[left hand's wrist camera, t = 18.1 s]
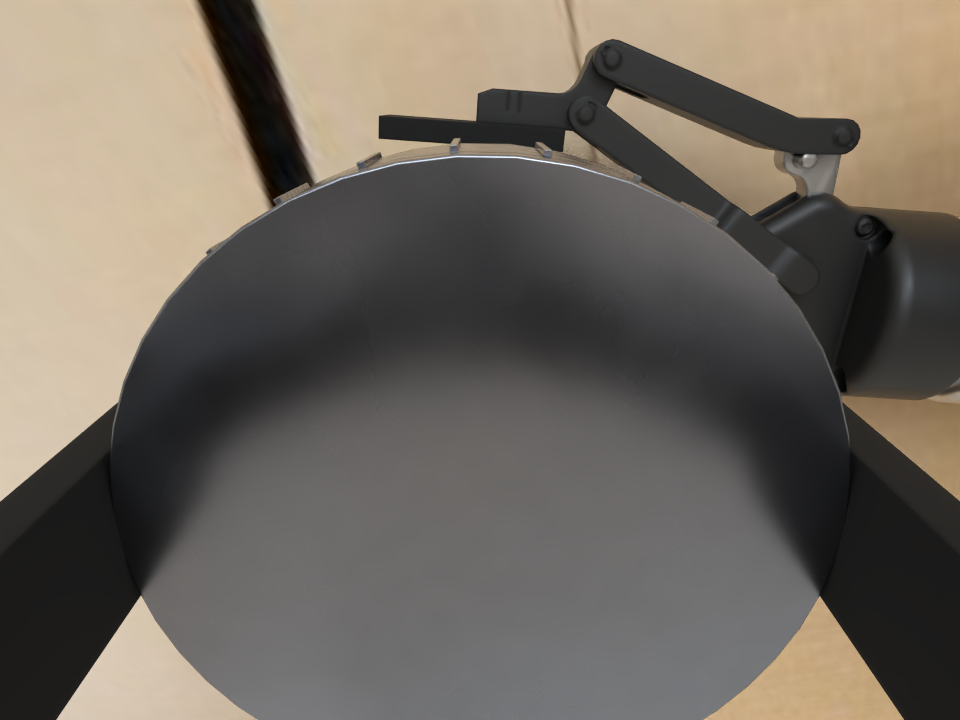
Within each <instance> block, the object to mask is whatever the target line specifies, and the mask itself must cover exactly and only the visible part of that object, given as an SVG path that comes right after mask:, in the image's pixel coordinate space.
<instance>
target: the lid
mask: <svg viewBox="0 0 960 720" xmlns="http://www.w3.org/2000/svg"><path fill="white" fill-rule="evenodd" d="M641 179H642V177H641V176H639V175H637V174H635V173H633V172H631V171H629V170H627V169H625V168H623V167H621V166H619V165H616V164H613V166H612V168H608V167H606V166H604V165H601V164H598V163H594V162H591V161H588V160H584V159H581V158H578V157H574V156H571V155H568V154H564V153H561V152H558V151H552V150H551V149H550V148H548V147H547V146H546V145H544V144H543V143H540V142H536V144H535V148H532V147H525V146H519V145H512V144H469V143H461V138H454V139H453V141H452V142H451V144H450V145H444V146H436V147H428V148H420V149H412V150H408V151H405V152H401V153H397V154H394V155H390V156H386V157H382V156H381V153H380V152H378V153H374V154H372V155H371V156H369V157H367V158H365V159H363V160H361V161H359V162H357V166H355V167H353V168H351V169H348V170H346V171H344V172H341V173H339V174H336V175H334V176H332V177H329V178H327V179H325V180H323V181H321V182H319V183H317V184H315V185H313V186H311V187H310V186H309V185H308V183H305V184H303V185H301V186H299V187H297V188H295V189H293V190H291V191H289V192H287V193H285V194H283V195H281V196H279V197H277V198H276V199H274V202H275V204H276V205H277V206H275V207H274V208H272V209H270V210H269V211H267V212H265V213H264V214H262V215H260V216H259V217H257V218H255V219H254V220H252V221H250V222H249V223H247V224H246V225H244V226H242V227H241V228H240V229H238V230H237V231H236V232H235V233H234V234H232V235H231V236H230V237H229V238H227V239H226V240H224V241H222V242H220V243H218V244H217V245H215V246H213V247H211V248H210V249H209V250H208V251H207V252H206V254H207V256H206V257H205V258H204V259H202V260H201V261H200V262H199V263H198V265H197V266H196V267H195V268H194V269H193V270H192V271H191V272H190V274H189V275H188V276H187V277H186V278H185V279H184V280H183V282H182V283H181V284H180V285H179V286H178V287H177V288H176V289H175V291H174V292H173V293H172V294H171V295H170V296H169V297H168V299H167V300H166V302H165V303H164V305H163V306H162V308H161V310H160V311H159V313H158V314H157V316H156V317H155V319H154V321H153V322H152V324H151V325H150V327H149V328H148V330H147V332H146V333H145V335H144V336H143V338H142V340H141V342H140V344H139V347H138V349H137V351H136V354H135V356H134V358H133V361H132V363H131V365H130V368H129V370H128V372H127V375H126V377H125V379H124V382H123V386H122V390H121V394H120V398H119V402H118V406H117V410H116V414H115V418H114V422H113V428H112V440H111V452H110V464H109V472H110V485H111V498H112V506H113V511H114V515H115V519H116V523H117V527H118V532H119V536H120V540H121V544H122V548H123V552H124V555H125V558H126V562H127V564H128V567H129V569H130V572H131V574H132V577H133V579H134V582H135V585H136V587H137V589H138V590H139V592H140V594H141V596H142V597H143V599H144V601H145V603H146V605H147V606H148V608H149V610H150V612H151V613H152V615H153V617H154V619H155V621H156V622H157V623H158V625H159V626H160V627H161V629H162V630H163V631H164V633H165V634H166V635H167V637H168V638H169V639H170V641H171V642H172V643H173V645H174V646H175V647H176V649H177V650H178V651H179V653H180V654H181V655H182V656H183V657H184V658H185V659H186V660H187V661H188V662H189V663H190V664H191V665H192V666H193V667H194V668H195V669H196V670H197V671H198V672H199V673H200V675H201V676H202V677H203V678H204V679H205V680H206V681H207V682H209V683H210V684H211V685H212V686H213V687H215V688H216V689H217V690H218V691H220V692H221V693H222V694H223V695H224V696H226V697H227V698H228V699H229V700H230V701H232V702H233V703H234V704H235V705H236V706H238V707H239V708H241V709H242V710H244V711H246V712H247V713H249V714H250V715H252V716H253V717H255V718H256V719H258V720H703V719H705V718H706V717H708V716H709V715H711V714H713V713H714V712H716V711H717V710H719V709H720V708H721V707H722V706H724V705H725V704H726V703H727V702H729V701H730V700H731V699H733V698H734V697H735V696H736V695H738V694H739V693H740V692H741V691H743V690H744V689H745V688H747V687H748V686H749V685H750V684H751V683H752V682H753V681H754V680H755V679H756V678H757V677H758V676H759V675H760V674H761V673H762V672H763V671H764V670H765V669H766V668H767V667H768V666H769V665H770V664H771V663H772V662H773V661H774V660H775V659H776V658H777V657H778V655H779V654H780V653H781V652H782V650H783V649H784V648H785V646H786V645H787V644H788V643H789V641H790V640H791V639H792V638H793V636H794V635H795V634H796V633H797V631H798V630H799V629H800V627H801V626H802V624H803V622H804V621H805V619H806V617H807V616H808V614H809V612H810V611H811V609H812V607H813V606H814V604H815V602H816V601H817V599H818V597H819V596H820V594H821V592H822V589H823V587H824V585H825V582H826V580H827V578H828V575H829V573H830V571H831V568H832V566H833V564H834V561H835V558H836V554H837V550H838V546H839V542H840V538H841V535H842V531H843V527H844V523H845V519H846V514H847V509H848V501H849V492H850V482H851V466H850V445H849V432H848V428H847V423H846V418H845V413H844V409H843V404H842V399H841V394H840V390H839V388H838V385H837V383H836V380H835V377H834V375H833V372H832V370H831V367H830V365H829V362H828V359H827V357H826V354H825V352H824V349H823V347H822V345H821V344H820V342H819V340H818V339H817V337H816V335H815V334H814V332H813V330H812V328H811V327H810V325H809V323H808V322H807V320H806V318H805V317H804V315H803V313H802V311H801V310H800V308H799V307H798V305H797V304H796V303H795V302H794V301H793V299H792V298H791V297H790V296H789V294H788V293H787V292H786V291H785V290H784V288H783V287H782V286H781V285H780V284H779V282H778V278H777V277H776V276H775V275H774V274H772V273H771V272H770V271H769V270H768V269H767V268H766V267H765V266H764V265H763V264H761V263H760V262H759V261H758V260H757V259H756V258H755V257H754V256H752V255H751V254H750V253H749V252H748V251H747V250H746V249H745V248H743V247H742V246H741V245H740V244H739V243H738V242H737V241H736V240H734V239H733V238H732V237H731V236H730V235H729V234H727V233H726V232H724V231H723V230H721V229H720V228H718V227H717V226H716V225H717V224H718V223H719V221H718V220H716V219H715V218H713V217H712V216H710V215H708V214H706V213H704V212H702V211H700V210H698V209H696V208H694V207H692V206H690V205H688V204H686V203H684V202H681V203H679V202H677V201H675V200H674V199H672V198H670V197H668V196H666V195H664V194H662V193H660V192H658V191H657V190H655V189H653V188H651V187H649V186H647V185H645V184H643V183H641V182H640V181H641Z"/></svg>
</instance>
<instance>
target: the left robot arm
mask: <svg viewBox="0 0 960 720" xmlns="http://www.w3.org/2000/svg"><path fill="white" fill-rule="evenodd" d="M842 404H843V409H844V413H845V418H846V423H847V428H848V432H849V445H850V466H851V482H850V492H849V501H848V509H847V514H846V519H845V523H844V527H843V531H842V535H841V538H840V542H839V546H838V550H837V554H836V558H835V561H834V564H833V566H832V568H831V571H830V573H829V575H828V578H827V580H826V582H825V585H824V587H823V589H822V592H821V594H820V597H821V598H822V600H823V601H824V602H825V604H826V605H827V607H828V608H829V610H830V611H831V613H832V614H833V616H834V617H835V619H836V620H837V622H838V623H839V625H840V626H841V627H842V629H843V630H844V632H845V633H846V635H847V636H848V638H849V639H850V641H851V642H852V644H853V645H854V647H855V648H856V649H857V651H858V652H859V654H860V655H861V657H862V658H863V660H864V661H865V663H866V664H867V666H868V667H869V669H870V670H871V672H872V673H873V674H874V676H875V677H876V679H877V680H878V682H879V683H880V685H881V686H882V688H883V689H884V691H885V692H886V694H887V695H888V697H889V698H890V699H891V701H892V702H893V704H894V705H895V707H896V708H897V710H898V711H899V713H900V714H901V716H902V717H903V719H904V720H960V501H959V500H958V499H956V498H955V497H954V496H953V495H952V494H950V493H949V492H948V491H947V490H946V489H944V488H943V487H942V486H941V485H940V484H939V483H937V482H936V481H935V480H934V479H933V478H931V477H930V476H929V475H928V474H927V473H925V472H924V471H923V470H922V469H921V468H920V467H918V466H917V465H916V464H915V463H914V462H912V461H911V460H910V459H909V458H908V457H907V456H905V455H904V454H903V453H902V452H901V451H899V450H898V449H897V448H896V447H895V446H893V445H892V444H891V443H890V442H889V441H888V440H886V439H885V438H884V437H883V436H882V435H880V434H879V433H878V432H877V431H876V430H875V429H873V428H872V427H871V426H870V425H869V424H867V423H866V422H865V421H864V420H863V419H861V418H860V417H859V416H858V415H857V414H856V413H854V412H853V411H852V410H851V409H850V408H848V407H847V406H846V405H845V404H844V403H843V402H842ZM117 406H118V403H117V404H116V405H114V406H113V407H112V408H111V409H110V410H108V411H107V412H106V413H105V414H104V415H103V416H101V417H100V418H99V419H98V420H97V421H95V422H94V423H93V424H92V425H91V426H90V427H88V428H87V429H86V430H85V431H84V432H82V433H81V434H80V435H79V436H78V437H76V438H75V439H74V440H73V441H72V442H71V443H69V444H68V445H67V446H66V447H65V448H63V449H62V450H61V451H60V452H59V453H58V454H56V455H55V456H54V457H53V458H52V459H50V460H49V461H48V462H47V463H46V464H44V465H43V466H42V467H41V468H40V469H39V470H37V471H36V472H35V473H34V474H33V475H31V476H30V477H29V478H28V479H27V480H26V481H24V482H23V483H22V484H21V485H20V486H18V487H17V488H16V489H15V490H14V491H12V492H11V493H10V494H9V495H8V496H7V497H5V498H4V499H3V500H2V501H1V502H0V720H56V719H57V718H58V716H59V715H60V713H61V712H62V710H63V709H64V707H65V706H66V704H67V703H68V702H69V700H70V699H71V697H72V696H73V694H74V693H75V691H76V690H77V688H78V687H79V685H80V684H81V682H82V681H83V680H84V678H85V677H86V675H87V674H88V672H89V671H90V669H91V668H92V666H93V665H94V663H95V662H96V660H97V659H98V657H99V656H100V655H101V653H102V652H103V650H104V649H105V647H106V646H107V644H108V643H109V641H110V640H111V638H112V637H113V635H114V634H115V632H116V631H117V630H118V628H119V627H120V625H121V624H122V622H123V621H124V619H125V618H126V616H127V615H128V613H129V612H130V610H131V609H132V608H133V606H134V605H135V603H136V602H137V600H138V599H139V597H140V596H141V594H140V592H139V590H138V589H137V587H136V585H135V582H134V579H133V577H132V574H131V572H130V569H129V567H128V564H127V562H126V558H125V555H124V552H123V548H122V544H121V540H120V536H119V532H118V527H117V523H116V519H115V515H114V511H113V506H112V498H111V485H110V472H109V464H110V452H111V440H112V428H113V422H114V418H115V414H116V410H117Z"/></svg>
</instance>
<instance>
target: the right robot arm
mask: <svg viewBox="0 0 960 720" xmlns="http://www.w3.org/2000/svg"><path fill="white" fill-rule="evenodd" d="M614 89H618V90H620V91H622V92H625V93H627V94H629V95H632V96H634V97H636V98H639V99H641V100H644V101H646V102H648V103H651V104H653V105H655V106H658V107H660V108H662V109H665V110H667V111H670V112H672V113H674V114H677V115H679V116H681V117H684V118H686V119H688V120H691V121H693V122H696V123H698V124H700V125H703V126H705V127H707V128H710V129H712V130H714V131H717V132H719V133H722V134H724V135H726V136H729V137H731V138H733V139H736V140H738V141H740V142H743V143H746V144H748V145H751V146H754V147H759V148H763V149H769V150H775V154H774V163H775V166H776V168H777V169H778V170H779V171H781V172H783V173H786V174H789V175H791V176H792V177H793V178H794V180H795V181H796V185H797V187H796V191H795V192H793V193H791V194H789V195H787V196H786V197H784V198H782V199H780V200H779V201H777V202H775V203H773V204H772V205H770V206H768V207H766V208H765V209H763V210H761V211H759V212H758V213H756V214H754V215H753V216H750V215H748V214H747V213H746V212H744V211H743V210H742V209H740V208H739V207H737V206H736V205H734V204H732V203H731V202H729V201H728V200H727V199H725V198H724V197H723V196H722V195H720V194H719V193H718V192H716V191H715V190H714V189H713V188H711V187H710V186H709V185H707V184H706V183H705V182H703V181H702V180H701V179H700V178H698V177H697V176H696V175H694V174H693V173H692V172H691V171H689V170H688V169H687V168H685V167H684V166H683V165H682V164H680V163H679V162H678V161H676V160H675V159H674V158H672V157H671V156H670V155H669V154H667V153H666V152H665V151H663V150H662V149H661V148H660V147H658V146H657V145H656V144H654V143H653V142H652V141H651V140H649V139H648V138H647V137H645V136H644V135H643V134H642V133H640V132H639V131H638V130H636V129H635V128H634V127H632V126H631V125H630V124H629V123H627V122H626V121H625V120H623V119H622V118H621V117H620V116H618V115H617V114H616V113H614V112H613V111H612V110H611V109H609V108H608V107H607V103H608V101H609V99H610V97H611V95H612V93H613V91H614ZM565 130H568V131H574V132H575V133H576V134H578V135H579V136H580V137H581V138H583V139H584V140H585V141H587V142H588V143H589V144H591V145H592V146H593V147H595V148H596V149H597V150H599V151H600V152H601V153H603V154H604V155H605V156H607V157H608V158H609V159H611V160H612V161H613V162H615V163H616V164H617V165H619V166H621V167H623V168H625V169H627V170H629V171H631V172H633V173H635V174H637V175H639V176H641V177H642V179H641V181H640V182H641V183H643V184H645V185H647V186H649V187H651V188H653V189H655V190H657V191H658V192H660V193H662V194H664V195H666V196H668V197H670V198H672V199H674V200H675V201H677V202H679V203H681V202H684V203H686V204H688V205H690V206H692V207H694V208H696V209H698V210H700V211H702V212H704V213H706V214H708V215H710V216H712V217H713V218H715V219H716V220H718V221H719V223H718V224H717V225H716V226H717V227H718V228H720V229H721V230H723V231H724V232H726V233H727V234H729V235H730V236H731V237H732V238H733V239H734V240H736V241H737V242H738V243H739V244H740V245H741V246H742V247H743V248H745V249H746V250H747V251H748V252H749V253H750V254H751V255H752V256H754V257H755V258H756V259H757V260H758V261H759V262H760V263H761V264H763V265H764V266H765V267H766V268H767V269H768V270H769V271H770V272H771V273H772V274H774V275H775V276H776V277H777V278H778V282H779V284H780V285H781V286H782V287H783V288H784V290H785V291H786V292H787V293H788V294H789V296H790V297H791V298H792V299H793V301H794V302H795V303H796V304H797V305H798V307H799V308H800V310H801V311H802V313H803V315H804V317H805V318H806V320H807V322H808V323H809V325H810V327H811V328H812V330H813V332H814V334H815V335H816V337H817V339H818V340H819V342H820V344H821V345H822V347H823V349H824V352H825V354H826V357H827V359H828V362H829V365H830V367H831V370H832V372H833V375H834V377H835V380H836V383H837V385H838V388H839V390H840V394H841V395H843V396H858V397H874V398H889V399H904V400H921V399H929V400H932V401H936V402H942V403H960V216H958V217H955V216H953V215H950V214H946V213H938V212H924V211H910V210H895V209H881V208H867V207H853V206H848V205H846V204H845V203H843V202H842V201H841V200H839V199H838V198H837V197H835V196H833V192H834V187H835V182H836V178H837V173H838V168H839V163H840V158H841V154H846V153H848V152H850V151H851V150H853V149H854V148H855V146H856V145H857V144H858V142H859V139H860V128H859V126H858V124H857V123H856V122H855V121H853V120H850V119H840V118H814V117H795V116H793V115H791V114H788V113H786V112H784V111H781V110H779V109H777V108H774V107H772V106H770V105H768V104H765V103H763V102H761V101H758V100H756V99H754V98H751V97H749V96H747V95H744V94H742V93H740V92H737V91H735V90H733V89H731V88H728V87H726V86H724V85H721V84H719V83H717V82H714V81H712V80H710V79H707V78H705V77H703V76H701V75H698V74H696V73H694V72H691V71H689V70H687V69H684V68H682V67H680V66H677V65H675V64H673V63H671V62H668V61H666V60H664V59H661V58H659V57H657V56H654V55H652V54H650V53H647V52H645V51H643V50H640V49H638V48H636V47H634V46H631V45H629V44H627V43H624V42H622V41H620V40H615V39H611V40H607V41H605V42H603V43H601V44H599V45H597V46H595V47H594V48H593V49H591V50H590V51H589V52H588V54H587V55H586V58H585V63H584V65H583V67H582V69H581V71H580V74H579V76H578V78H577V80H576V82H575V83H574V85H573V86H572V87H571V88H570V89H569V90H567V91H566V92H564V93H546V92H532V91H519V90H505V89H490V90H487V91H484V92H481V93H478V102H477V118H476V121H468V120H455V119H441V118H428V117H414V116H400V115H382V116H379V139H392V140H405V141H419V142H433V143H446V144H451V142H452V141H453V139H454V138H461V143H469V144H512V145H519V146H525V147H532V148H535V144H536V142H540V143H543V144H544V145H546V146H547V147H548V148H550V149H551V150H552V151H558V152H563V146H564V137H565Z"/></svg>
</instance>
